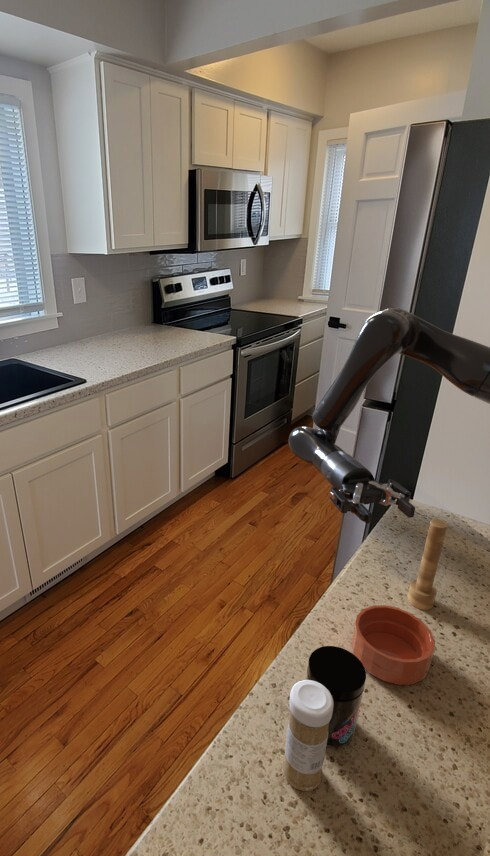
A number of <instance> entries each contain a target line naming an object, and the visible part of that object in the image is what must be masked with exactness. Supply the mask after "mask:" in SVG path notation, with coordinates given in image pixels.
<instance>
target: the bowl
mask: <svg viewBox="0 0 490 856" xmlns="http://www.w3.org/2000/svg"><path fill="white" fill-rule="evenodd" d="M350 646H351V650H352V654H354V655H355V656H356V657H357V658H358V659H359V660H360V661H361V663H362V664H363V666H364V668H365V671H367V672H368V673H369V674H371V675H372V676H374V677H376V678H378V679H379V680H382V681H383V682H385V683H386V682H387V683H390V684H395V685H399V686H400V685H402V686H403V685H405V686H406V685H415V684H416V683H418V682H421V681H423V680H424V679H425V678H426V676H427V675H428V674H429V672H430V669H431V664H432V660H433V657H434V653H435V646H436V640H435V638H434V635H433V633H432V631H431V629H430V628H429V627H428V626H427V624H425V622H424V621H422V620H421V619H420V618H418V617H417V616H416V615H414V614H413V613H411V612H408V611H406V610H403V609H402V608H399V607H396V606H392V605H386V604H381V605H376V604H375V605H371V606H368V607H365V608H363V609H362V610H361V611H360V612H359V613H357V615H356V618H355V621H354V626H353V632H352V637H351V644H350Z"/></svg>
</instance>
